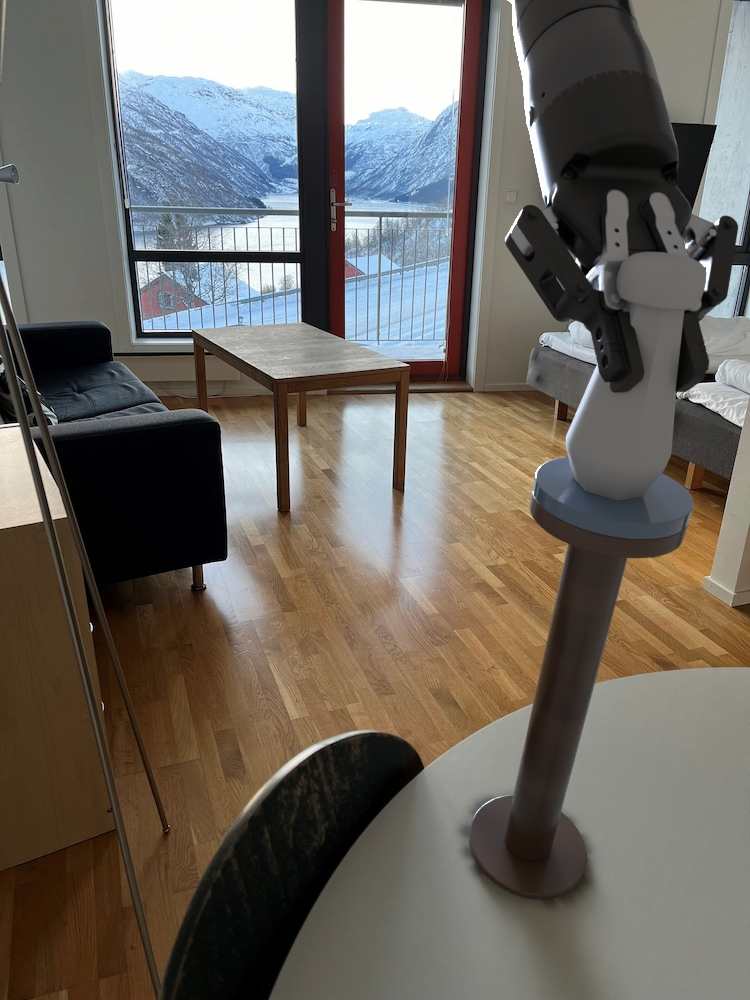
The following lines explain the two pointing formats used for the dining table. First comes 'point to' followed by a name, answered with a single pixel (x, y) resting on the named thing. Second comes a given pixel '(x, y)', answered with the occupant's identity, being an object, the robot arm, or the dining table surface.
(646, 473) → the salt shaker
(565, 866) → the stand
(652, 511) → the blue round disc
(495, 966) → the dining table surface
